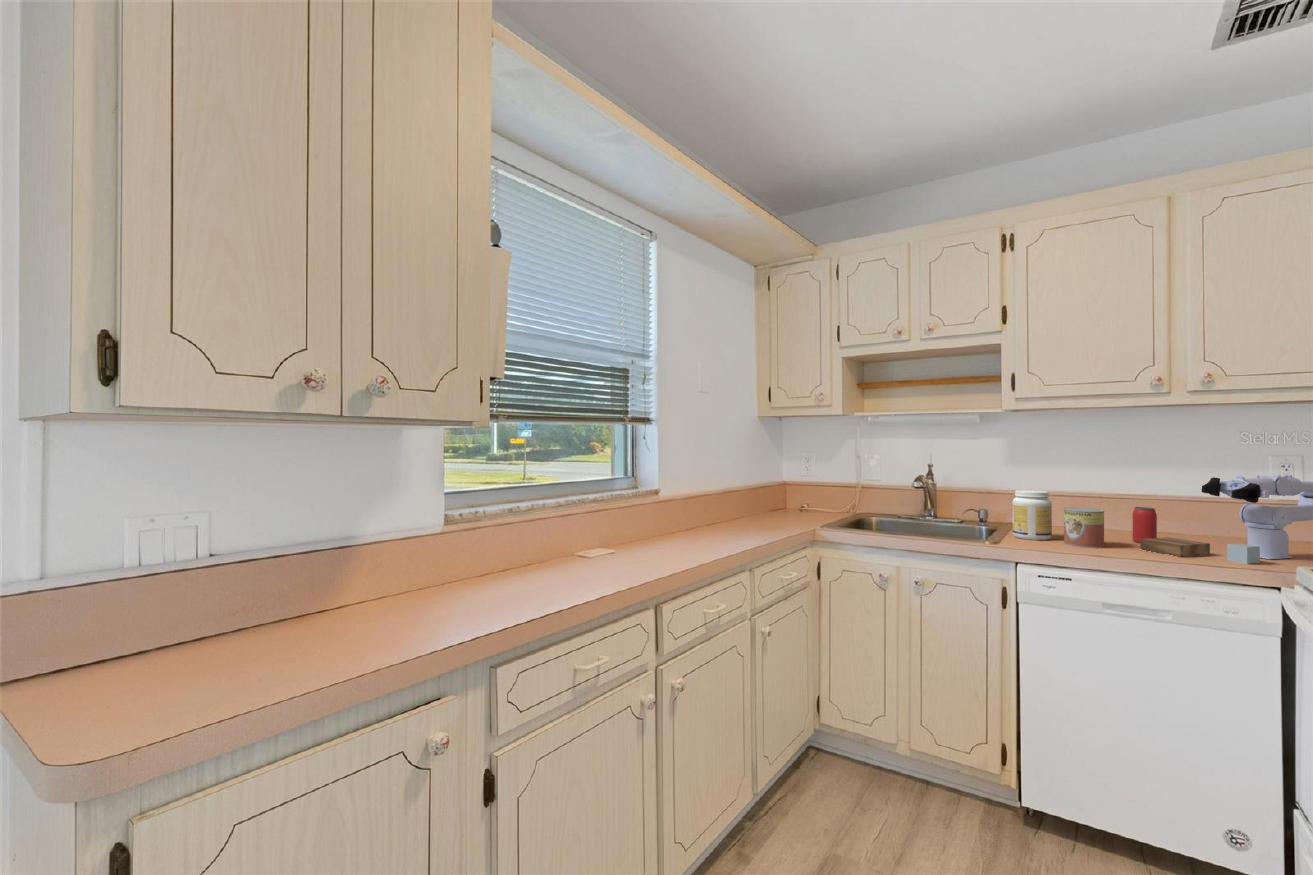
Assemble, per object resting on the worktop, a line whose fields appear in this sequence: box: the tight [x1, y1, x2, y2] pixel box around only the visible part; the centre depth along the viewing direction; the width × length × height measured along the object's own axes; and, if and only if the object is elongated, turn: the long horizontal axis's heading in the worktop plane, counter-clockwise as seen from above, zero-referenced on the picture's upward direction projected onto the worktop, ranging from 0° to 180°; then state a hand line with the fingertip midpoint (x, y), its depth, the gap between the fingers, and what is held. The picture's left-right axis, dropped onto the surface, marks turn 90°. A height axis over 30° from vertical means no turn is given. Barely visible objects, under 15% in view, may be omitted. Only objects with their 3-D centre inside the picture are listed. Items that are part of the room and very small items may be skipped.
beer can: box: [1132, 506, 1158, 544], centre depth 211 cm, size 7×7×12 cm
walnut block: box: [1139, 536, 1211, 558], centre depth 193 cm, size 12×12×4 cm
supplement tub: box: [1011, 489, 1053, 541], centre depth 221 cm, size 12×12×17 cm
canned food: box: [1063, 507, 1105, 549], centre depth 207 cm, size 11×11×12 cm
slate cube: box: [1226, 543, 1261, 565], centre depth 178 cm, size 5×5×5 cm
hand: (1217, 491), depth 181 cm, fingers open, 7 cm apart
